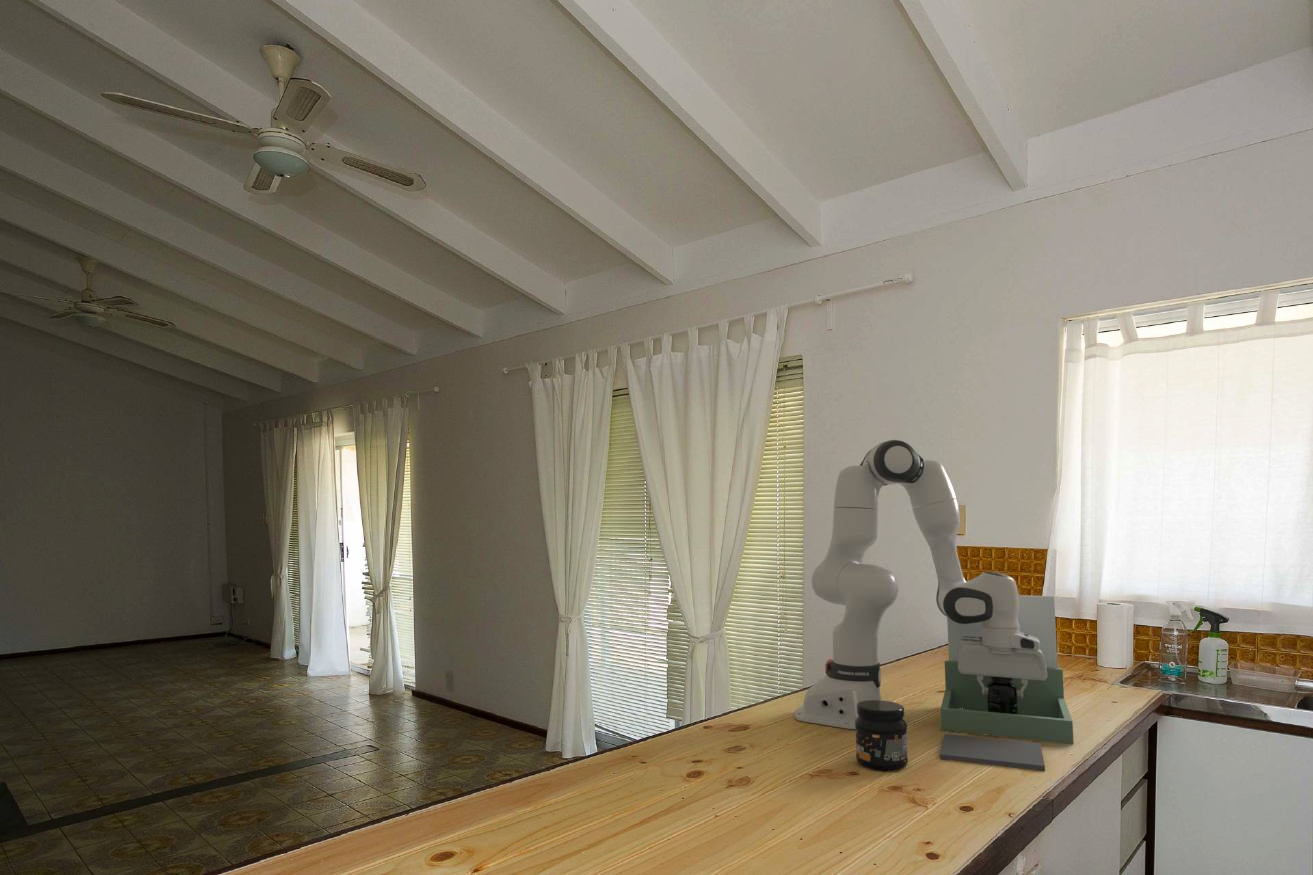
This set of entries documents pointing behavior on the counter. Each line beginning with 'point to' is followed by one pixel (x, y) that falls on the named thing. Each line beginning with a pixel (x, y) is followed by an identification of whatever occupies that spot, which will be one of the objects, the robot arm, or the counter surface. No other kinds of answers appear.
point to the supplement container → (881, 735)
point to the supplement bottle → (1002, 696)
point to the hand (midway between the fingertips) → (1002, 695)
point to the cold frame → (1037, 695)
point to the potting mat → (992, 752)
